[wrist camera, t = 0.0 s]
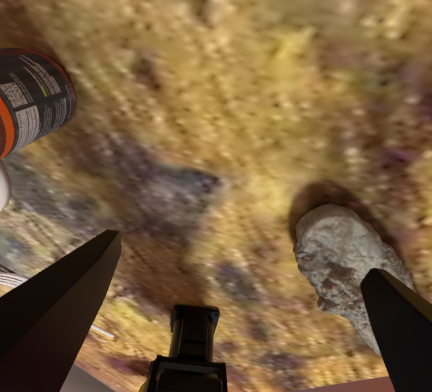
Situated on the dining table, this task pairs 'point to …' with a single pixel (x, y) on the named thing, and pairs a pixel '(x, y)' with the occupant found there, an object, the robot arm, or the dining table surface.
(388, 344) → the robot arm
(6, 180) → the beige flattened disc
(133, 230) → the dining table surface
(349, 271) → the elongated rock
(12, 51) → the supplement bottle
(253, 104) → the dining table surface
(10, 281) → the fork
